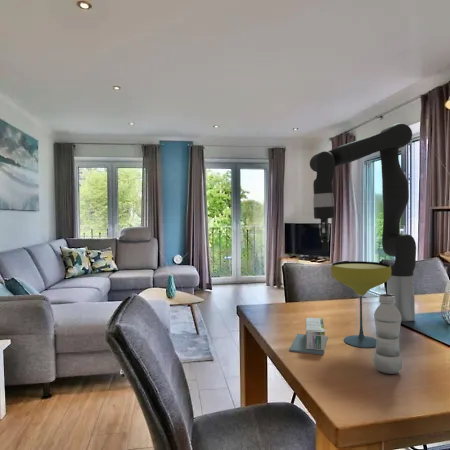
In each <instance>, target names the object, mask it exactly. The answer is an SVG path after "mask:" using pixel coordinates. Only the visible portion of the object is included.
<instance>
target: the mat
mask: <svg viewBox="0 0 450 450" xmlns="http://www.w3.org/2000/svg"><path fill="white" fill-rule="evenodd" d="M327 341H328V336H326V335H325V347H326V345H327ZM288 351H289V352H295V353H300V354H301V353H303V354H309V355H310V354H312V355H318V356H319V355H320V356H324V353H325V350H317V349H306V333H305V334H302V333H297V334H296V335H295V338H293V341H292V343H291V345H290V347H289V349H288Z"/></svg>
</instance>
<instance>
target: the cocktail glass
mask: <svg viewBox="0 0 450 450" xmlns="http://www.w3.org/2000/svg"><path fill="white" fill-rule="evenodd" d="M330 273H331V276H332V278H334V279H335V281H337V282H339V283H340V284H342V285H345V286H347V287H348V288H349V289H352V290H353V291H354V293H355V294H356V295H357V296H358V297H359V334H358V335H357V334H354V335H353V334H352V335H348V336H345V337H344V338H343V341H344V343H345V344H347V345H349V346H351V345H352V346H353V347H356V348H363V349H370V348H373V349H374V348H376V340H377V339H376V338H374V337H372V336H368V335H364V334H365V333H364V330H363V328H364V327H363V298H362V297H364V296H365V295H366V294H367V293H368V292H369V291H370V290H371V289H374V288H376V287H379V286H381V285H383V284H385V283H387V281H388V280H389V279H390V277H391V264H388V263H383V262H375V261H365V260H364V261H357V260H352V261H350V260H349V261H337V262H333V263H332V264H331V266H330ZM352 346H351V347H352Z"/></svg>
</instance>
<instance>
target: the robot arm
mask: <svg viewBox="0 0 450 450" xmlns="http://www.w3.org/2000/svg"><path fill="white" fill-rule="evenodd" d="M412 138H413V130H412V128H411V127H410V126H409V125H408V124H406V123H400V122H399V123H395V124H392V125H390V126H386V127H385V128H383V129H382V130H381V131H380V132H379V133H377V134H374V135H371V136H367V137H365V138H362V139H359V140H355V141H352V142H348V143H345V144H342V145H339V146H337V147H335V148H333V149H330V150H324V151H321V152H319V153H316V154H314V155H313V156H312V157H311V159H310V160H309V166H310V169H311V170H312V171H313V172H316V178H315V179H314V180H313V201H312V202H313V219H316V220H320V223H318V229H319V236H320V241H321V247H322V252H323V253H328V252H329V251H330V247H329V242H330V235H331V231H330V230H331V229H330V228H331V223H330V222H329V219H335V217H336V216H335V197H334V187H333V184H334V183H333V179H334V176H335V175H334V174H335V169H336V168H335V167H338V166H342V165H345V164H349V163H353V162H354V161H358V160H360V159H363V158H365V157H367V156H371V155H372V154H375V153H378V152H379V157H380V164H381V181H382V182H381V184H382V186H381V189H382V194H381V195H382V207H383V208H382V213H383V218H382V220H383V223H382V235H381V247H382V250H383V253H384V254H386V255H387V256H389V257H394V263H393V264H390V266H391V277H390V279H389V280H388V281H386V294H391V295H394V296H395V304H394V305H395V306H396V308H397V309H398V310H399V312H400V314H401V322H415V321H416V316H415V313H416V311H415V310H416V309H415V305H416V304H415V303H416V302H415V295H414V270H415V268H416V258H417V243H416V241H415V238H414V237H413V235H410V234H407V233H401V230H400V229H401V228H400V227H401V226H400V223H401V218H402V216H403V213H404V212H405V210H406V208H407V205H408V202H409V200H410V197H409V196H410V195H409V193H410V192H409V181H408V179H407V176H406V174H405V172H404V170H403V169H402V166H401V164H400V159H399V158H400V157H399V154H400V153H399V149H401V148H404V147H406V146H407V145H408V144H409V143H410V142H411V141H412Z"/></svg>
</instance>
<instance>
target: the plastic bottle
mask: <svg viewBox="0 0 450 450" xmlns="http://www.w3.org/2000/svg"><path fill="white" fill-rule="evenodd" d="M378 296H379V298H378V302H379V304H378V306H377V308H376V309H375V311H374V312H373V313H374V314H373V319H374V324H375V325H374V326H375V334H376V338H375V339H377V340H376V347H375V352H374V357H373V362H374V367H375V368H376V370H377V371H379V372H381V373H383V374H387V375H388V374H390V375H394V374H398V373H400V371H401V370H402V366H403V362H402V356H401V351H400V350H401V349H400V330H401V323H402V321H401V314H400V312H399V310H398V309H397V308H396V306H395V305H394V304H395V296H394V295H391V294H387V293H381V294H379V295H378Z"/></svg>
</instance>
